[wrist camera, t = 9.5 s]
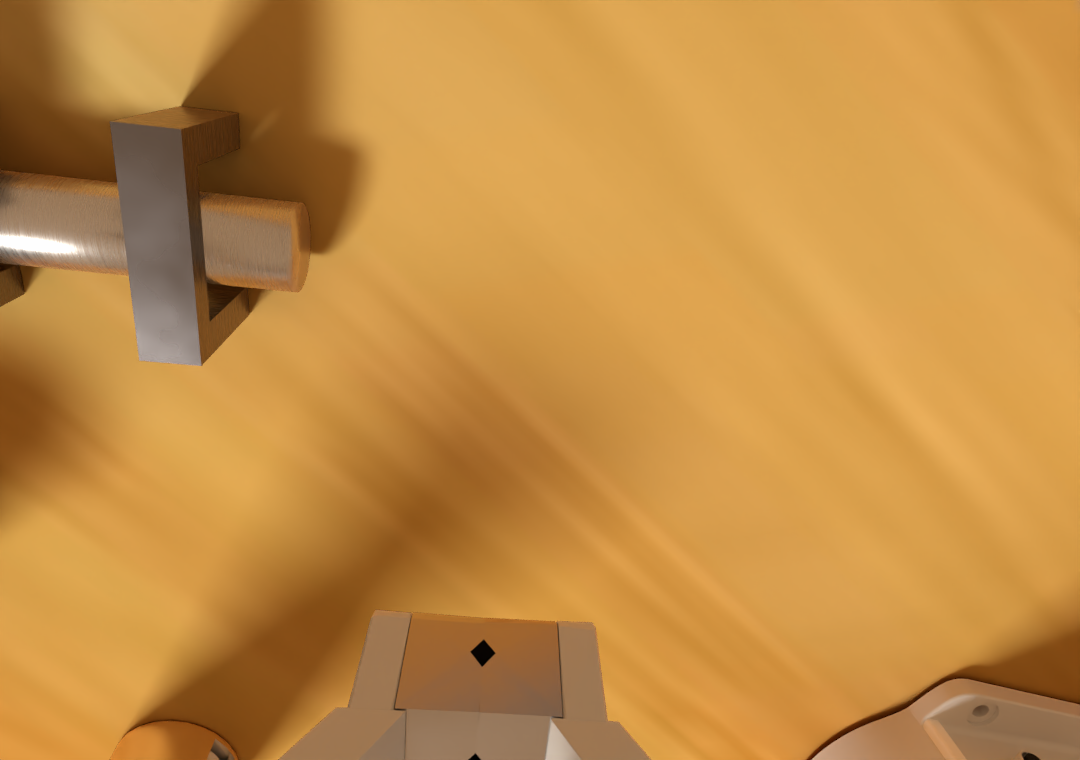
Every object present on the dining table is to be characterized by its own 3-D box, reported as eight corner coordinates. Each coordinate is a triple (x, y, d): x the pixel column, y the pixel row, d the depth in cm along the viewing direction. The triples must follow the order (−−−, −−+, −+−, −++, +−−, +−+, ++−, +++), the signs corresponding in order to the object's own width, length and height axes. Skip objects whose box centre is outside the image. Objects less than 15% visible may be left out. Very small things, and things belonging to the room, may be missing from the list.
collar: (238, 112, 26) (180, 129, 22) (249, 314, 29) (201, 365, 25) (179, 106, 26) (109, 121, 21) (197, 310, 29) (139, 360, 25)
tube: (307, 185, 27) (283, 227, 24) (313, 265, 29) (292, 311, 26) (-227, 127, 25) (-313, 164, 23) (-181, 215, 27) (-256, 258, 25)
